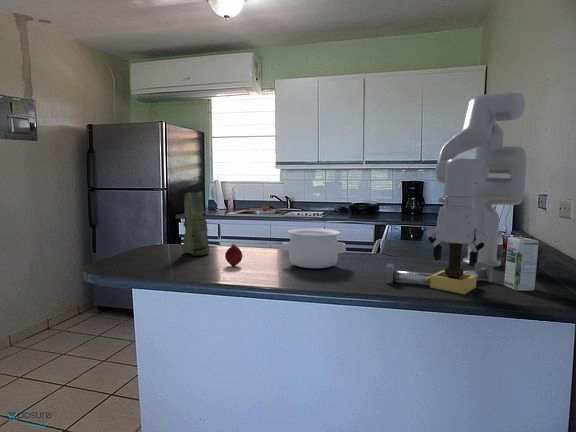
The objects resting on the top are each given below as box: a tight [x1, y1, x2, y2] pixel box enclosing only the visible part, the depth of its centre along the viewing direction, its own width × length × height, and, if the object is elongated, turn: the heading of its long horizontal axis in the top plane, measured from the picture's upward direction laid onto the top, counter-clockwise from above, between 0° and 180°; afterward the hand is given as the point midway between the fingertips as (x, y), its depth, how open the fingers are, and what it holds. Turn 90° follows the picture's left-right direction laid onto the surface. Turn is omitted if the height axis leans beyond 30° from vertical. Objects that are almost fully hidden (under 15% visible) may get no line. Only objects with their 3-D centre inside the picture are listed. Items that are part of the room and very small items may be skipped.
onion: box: [224, 242, 243, 267], centre depth 135 cm, size 6×6×8 cm
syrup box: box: [503, 236, 539, 292], centre depth 113 cm, size 6×6×14 cm
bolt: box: [444, 243, 464, 280], centre depth 113 cm, size 6×5×15 cm
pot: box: [281, 227, 347, 269], centre depth 137 cm, size 22×17×12 cm
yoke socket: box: [429, 269, 477, 295], centre depth 113 cm, size 10×10×4 cm
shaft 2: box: [463, 262, 495, 283], centre depth 119 cm, size 12×5×5 cm, turn 118°
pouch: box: [182, 190, 210, 257], centre depth 155 cm, size 11×12×25 cm
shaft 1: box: [385, 263, 434, 285], centre depth 117 cm, size 14×5×5 cm, turn 73°
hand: (454, 262), depth 113 cm, fingers open, 9 cm apart
